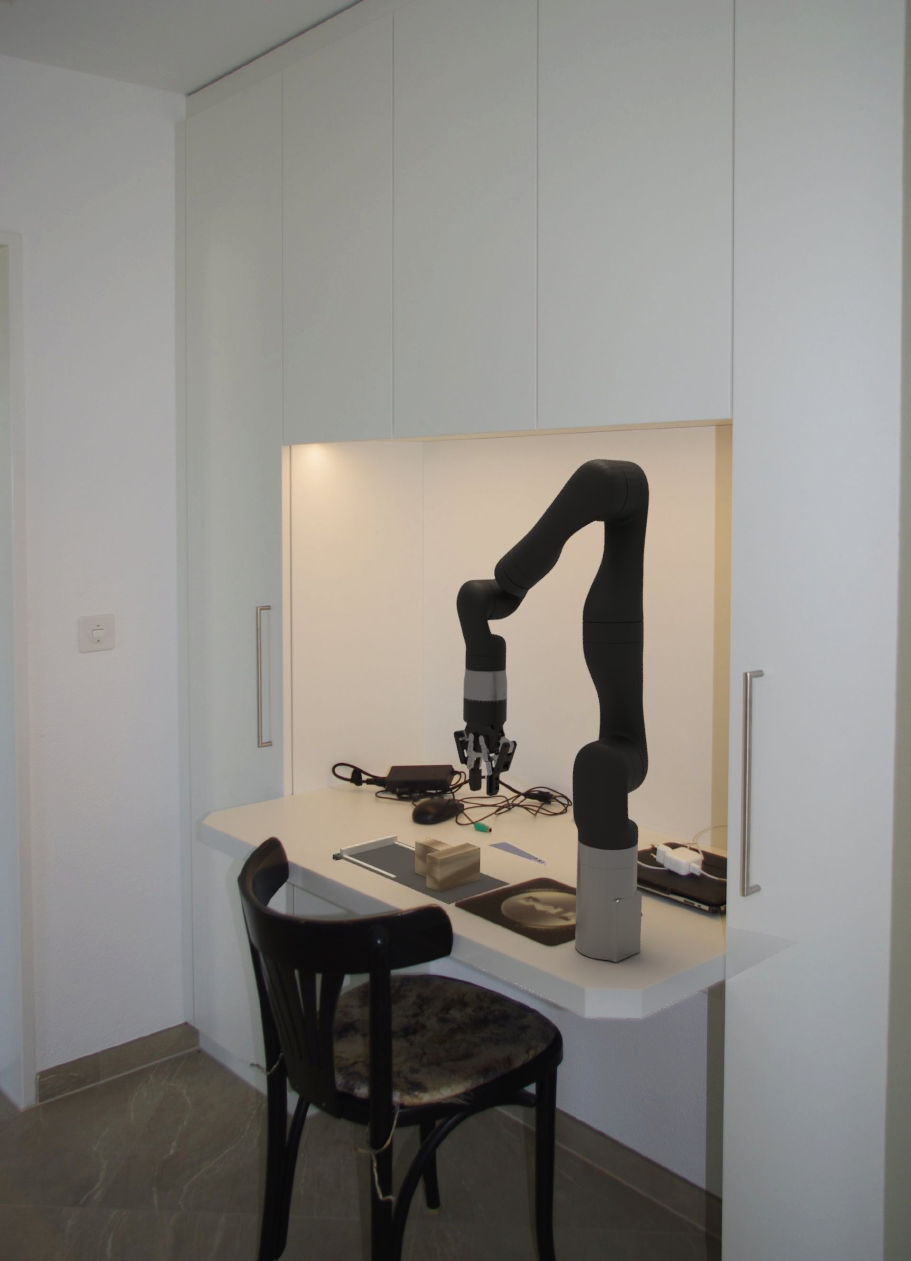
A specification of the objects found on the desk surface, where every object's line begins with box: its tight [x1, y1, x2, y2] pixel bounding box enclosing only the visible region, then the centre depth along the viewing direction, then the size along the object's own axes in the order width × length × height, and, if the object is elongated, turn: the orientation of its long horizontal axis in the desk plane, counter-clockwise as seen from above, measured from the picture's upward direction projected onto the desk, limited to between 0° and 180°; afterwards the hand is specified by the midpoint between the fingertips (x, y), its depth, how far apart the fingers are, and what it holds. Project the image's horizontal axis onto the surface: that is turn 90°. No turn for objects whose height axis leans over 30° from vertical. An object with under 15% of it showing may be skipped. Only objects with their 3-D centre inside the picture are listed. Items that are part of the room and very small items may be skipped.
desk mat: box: [332, 834, 510, 905], centre depth 188 cm, size 34×15×2 cm, turn 43°
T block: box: [414, 837, 481, 892], centre depth 183 cm, size 10×10×6 cm
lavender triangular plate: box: [488, 841, 547, 866], centre depth 198 cm, size 8×1×15 cm
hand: (483, 792), depth 173 cm, fingers open, 3 cm apart
